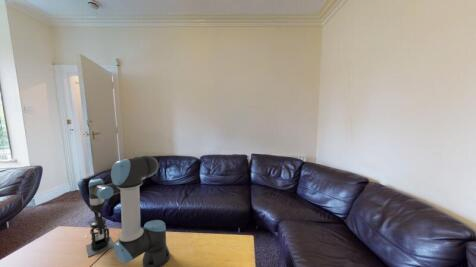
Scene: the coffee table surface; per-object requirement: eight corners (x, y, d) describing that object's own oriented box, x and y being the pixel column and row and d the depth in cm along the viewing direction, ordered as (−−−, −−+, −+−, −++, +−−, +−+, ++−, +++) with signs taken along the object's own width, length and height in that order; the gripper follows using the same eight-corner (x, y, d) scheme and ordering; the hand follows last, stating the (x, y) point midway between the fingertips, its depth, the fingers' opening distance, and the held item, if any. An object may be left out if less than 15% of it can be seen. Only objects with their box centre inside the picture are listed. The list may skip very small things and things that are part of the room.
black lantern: (86, 250, 121) (83, 216, 120) (97, 241, 131) (95, 209, 129) (103, 250, 121) (101, 216, 119) (114, 241, 130) (112, 209, 128)
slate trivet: (114, 246, 126) (114, 245, 126) (88, 257, 116) (88, 256, 116) (110, 237, 136) (110, 236, 136) (86, 246, 126) (86, 245, 126)
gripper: (107, 207, 117) (109, 239, 119) (101, 195, 135) (103, 223, 137) (92, 211, 112) (94, 245, 114) (88, 198, 130) (90, 228, 132)
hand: (99, 233), depth 125 cm, fingers open, 13 cm apart
